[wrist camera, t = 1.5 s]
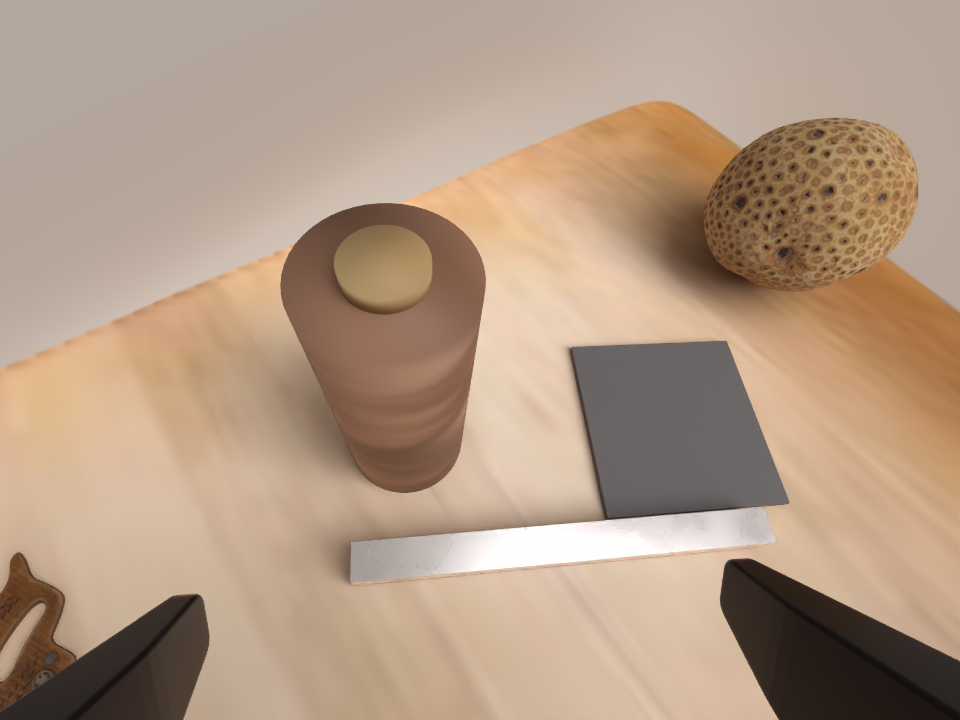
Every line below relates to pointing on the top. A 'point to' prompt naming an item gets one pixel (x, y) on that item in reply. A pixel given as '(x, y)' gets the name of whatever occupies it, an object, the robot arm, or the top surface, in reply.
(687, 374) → the grey square plate
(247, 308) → the top surface
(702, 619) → the top surface
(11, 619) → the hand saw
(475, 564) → the steel straightedge
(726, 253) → the natural sponge
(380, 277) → the brown thread spool
